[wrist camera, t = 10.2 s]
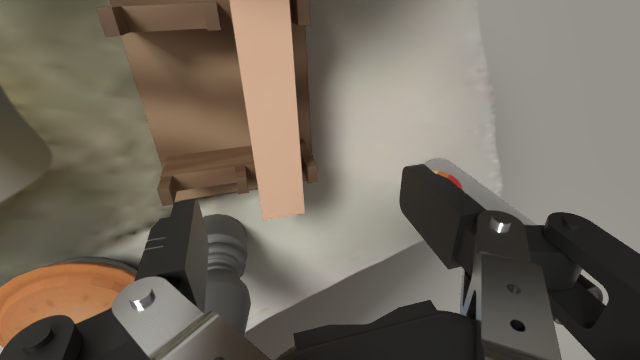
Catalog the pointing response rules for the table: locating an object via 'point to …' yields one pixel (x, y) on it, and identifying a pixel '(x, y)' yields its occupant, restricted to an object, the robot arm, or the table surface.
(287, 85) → the strip
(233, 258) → the candle holder
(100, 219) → the table surface
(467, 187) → the lotion bottle
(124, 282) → the pie
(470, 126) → the table surface
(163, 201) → the rack
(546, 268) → the robot arm
